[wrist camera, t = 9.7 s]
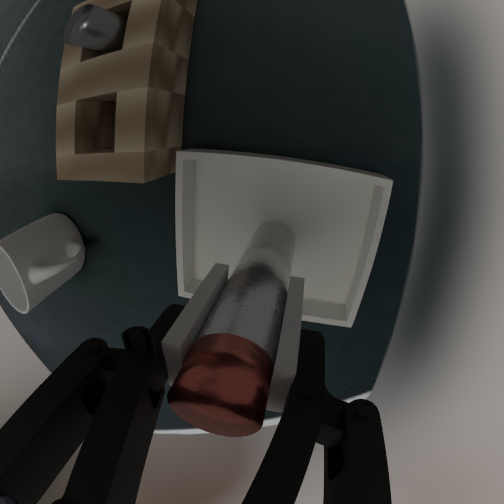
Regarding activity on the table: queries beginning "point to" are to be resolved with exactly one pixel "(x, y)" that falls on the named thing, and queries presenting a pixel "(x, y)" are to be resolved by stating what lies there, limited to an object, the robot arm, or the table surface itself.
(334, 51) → the table surface
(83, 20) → the short pin
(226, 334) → the glass vial with cap
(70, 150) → the block
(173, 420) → the table surface
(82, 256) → the mug
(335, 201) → the tray
